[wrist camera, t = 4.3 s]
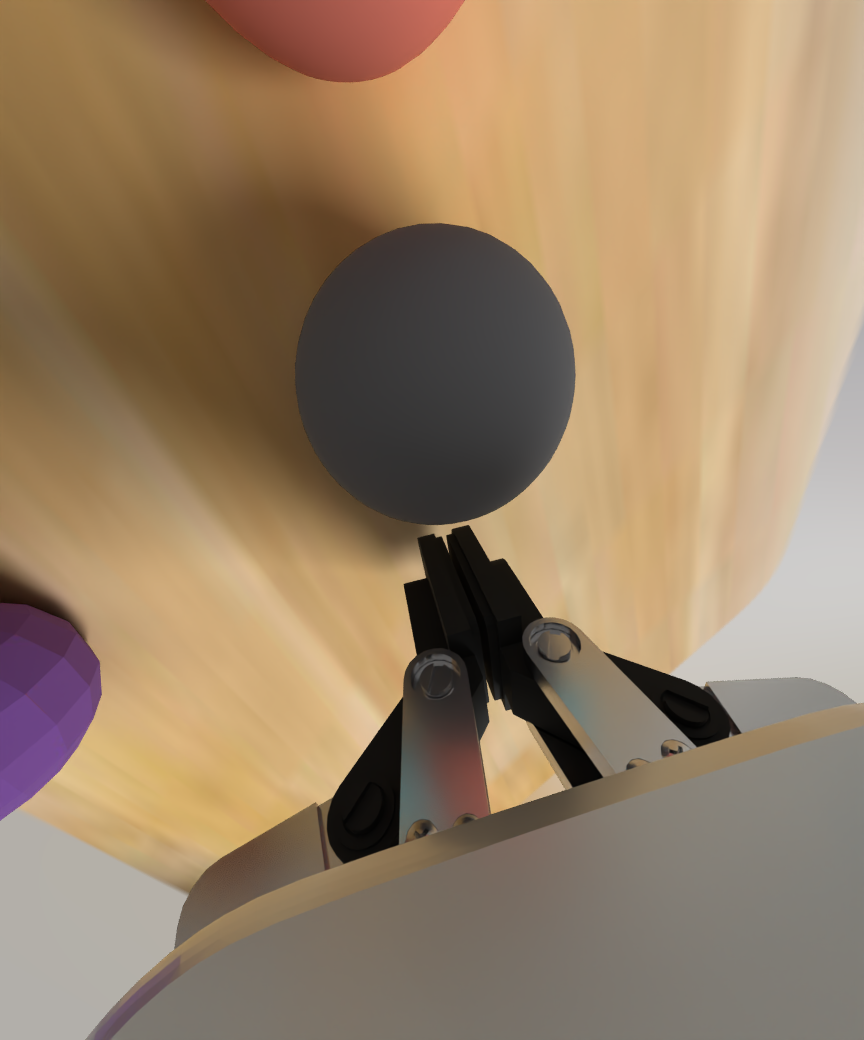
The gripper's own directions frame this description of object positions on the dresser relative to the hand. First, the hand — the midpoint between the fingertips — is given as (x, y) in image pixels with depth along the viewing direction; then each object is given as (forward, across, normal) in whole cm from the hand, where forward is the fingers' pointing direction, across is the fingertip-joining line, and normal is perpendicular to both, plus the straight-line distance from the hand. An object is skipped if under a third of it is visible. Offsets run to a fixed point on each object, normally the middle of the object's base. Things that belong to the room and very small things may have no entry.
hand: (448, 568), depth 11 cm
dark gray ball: (-1, 0, -6) cm, 6 cm away
